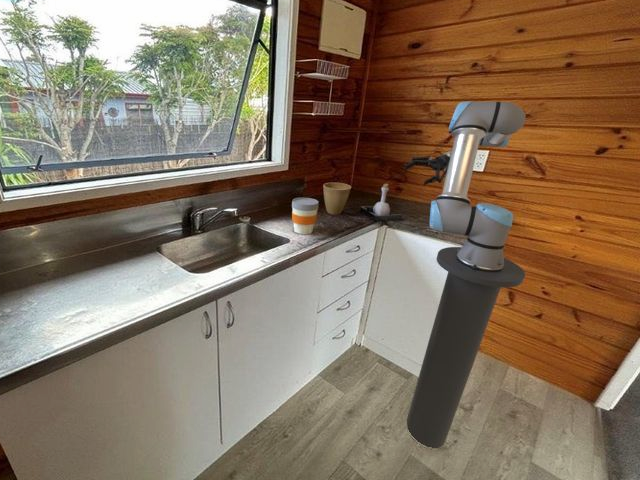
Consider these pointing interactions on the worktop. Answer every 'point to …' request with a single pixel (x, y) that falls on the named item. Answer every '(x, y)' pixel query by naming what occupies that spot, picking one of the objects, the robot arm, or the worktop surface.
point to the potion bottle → (382, 203)
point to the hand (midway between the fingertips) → (414, 175)
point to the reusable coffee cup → (304, 214)
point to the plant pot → (335, 197)
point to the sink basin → (367, 212)
